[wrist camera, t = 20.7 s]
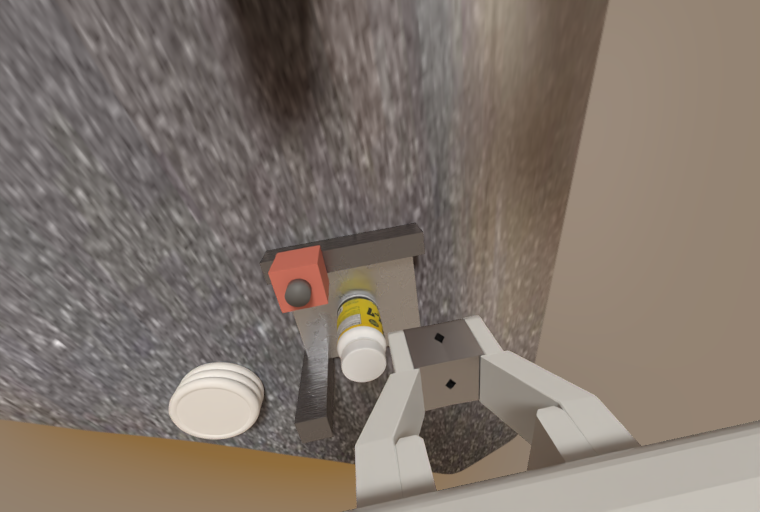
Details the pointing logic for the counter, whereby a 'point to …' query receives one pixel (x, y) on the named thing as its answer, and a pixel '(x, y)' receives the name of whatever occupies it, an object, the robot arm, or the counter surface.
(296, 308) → the handle
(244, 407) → the coaster
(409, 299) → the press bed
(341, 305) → the supplement bottle
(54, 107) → the counter surface
